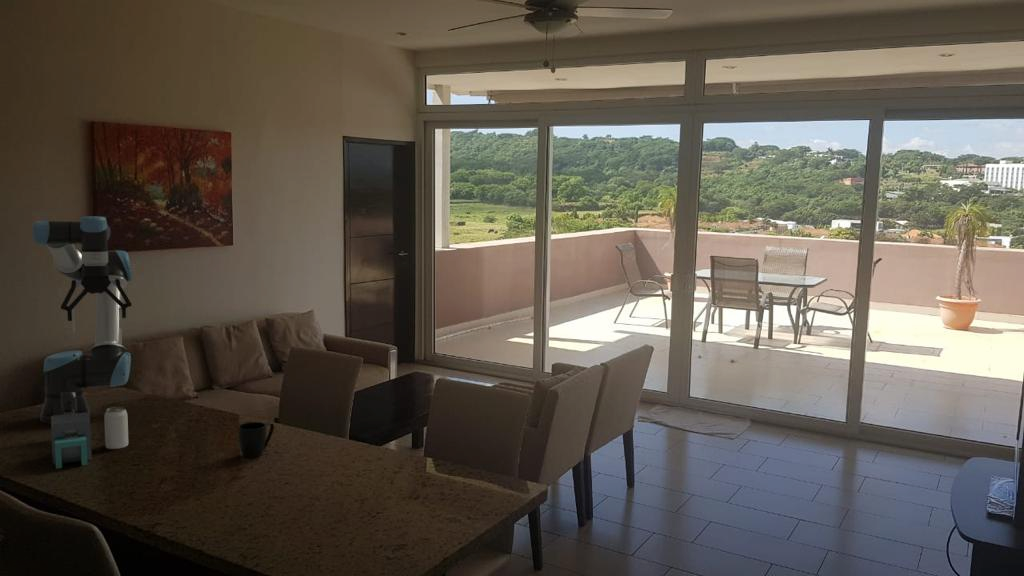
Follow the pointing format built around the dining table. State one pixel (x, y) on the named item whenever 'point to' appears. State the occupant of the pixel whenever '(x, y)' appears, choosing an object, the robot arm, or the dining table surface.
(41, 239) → the robot arm
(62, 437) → the housing
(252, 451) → the mug
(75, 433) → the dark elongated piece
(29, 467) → the dining table surface
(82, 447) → the block
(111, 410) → the can
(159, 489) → the dining table surface
